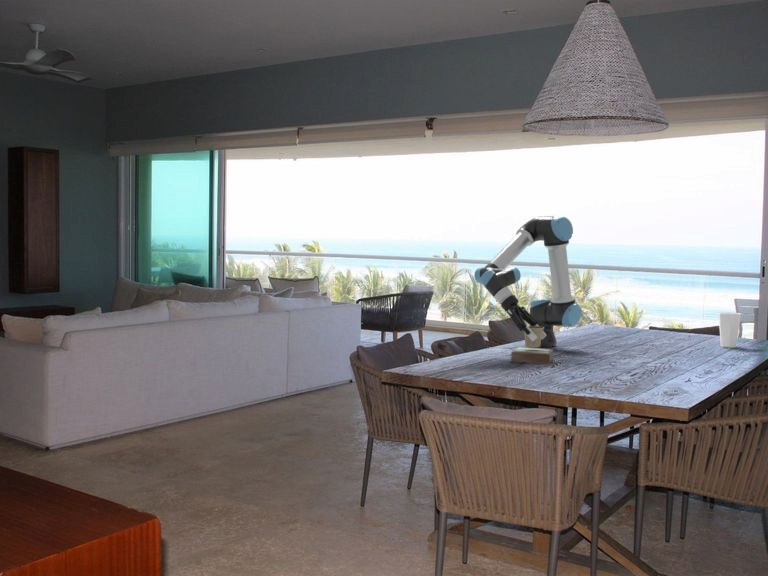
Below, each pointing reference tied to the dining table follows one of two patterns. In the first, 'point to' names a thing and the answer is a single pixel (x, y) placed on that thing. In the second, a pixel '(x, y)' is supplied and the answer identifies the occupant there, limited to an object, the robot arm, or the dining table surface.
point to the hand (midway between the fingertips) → (539, 338)
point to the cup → (729, 328)
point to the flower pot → (536, 343)
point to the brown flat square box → (532, 355)
